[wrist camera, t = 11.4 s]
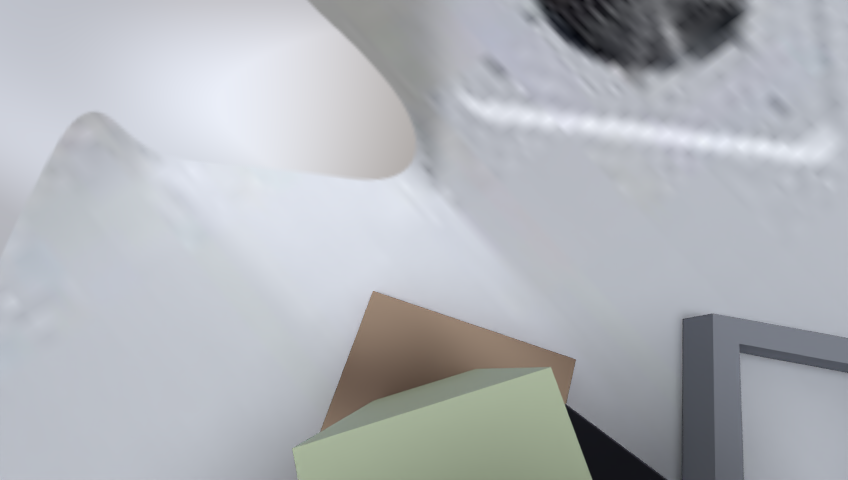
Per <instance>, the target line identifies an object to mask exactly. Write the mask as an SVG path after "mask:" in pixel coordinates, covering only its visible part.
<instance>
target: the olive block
mask: <svg viewBox="0 0 848 480" xmlns="http://www.w3.org/2000/svg"><path fill="white" fill-rule="evenodd" d="M292 450H293V455H294V461H295V466H296V472H297V477H298V480H592V478H591V475H590V472H589V469H588V467H587V464H586V461H585V459H584V456H583V453H582V450H581V448H580V445H579V442H578V440H577V437H576V434H575V431H574V429H573V426H572V423H571V420H570V418H569V415H568V412H567V410H566V407H565V404H564V401H563V399H562V396H561V393H560V391H559V388H558V385H557V382H556V380H555V377H554V374H553V371H552V369H551V367H534V368H490V369H474V370H470V371H467V372H464V373H461V374H458V375H454V376H451V377H448V378H445V379H441V380H438V381H435V382H432V383H429V384H425V385H422V386H419V387H416V388H412V389H409V390H406V391H403V392H400V393H396V394H393V395H390V396H387V397H383V398H380V399H377V400H374V401H372V402H370V403H369V404H367V405H365V406H364V407H362V408H360V409H359V410H357V411H355V412H353V413H352V414H350V415H348V416H347V417H345V418H343V419H342V420H340V421H338V422H336V423H335V424H333V425H331V426H330V427H328V428H326V429H325V430H323V431H321V432H319V433H318V434H316V435H314V436H313V437H311V438H309V439H307V440H306V441H304V442H302V443H301V444H299V445H297V446H296V447H294V448H292Z"/></svg>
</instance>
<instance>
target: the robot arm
mask: <svg viewBox="0 0 848 480" xmlns="http://www.w3.org/2000/svg"><path fill="white" fill-rule="evenodd" d="M564 404H565V403H564ZM565 407H566V410H567V412H568V415H569V418H570V420H571V423H572V426H573V429H574V431H575V434H576V437H577V440H578V442H579V445H580V448H581V450H582V453H583V456H584V459H585V461H586V464H587V467H588V469H589V472H590V475H591V478H592V480H667V479H666V478H664V477H663V476H662V475H660V474H659V473H658V472H656V471H655V470H654V469H652V468H651V467H650V466H648V465H647V464H645V463H644V462H643V461H641V460H640V459H639V458H637V457H636V456H635V455H633V454H632V453H631V452H629V451H628V450H627V449H625V448H624V447H623V446H621V445H620V444H619V443H617V442H616V441H615V440H613V439H612V438H611V437H609V436H608V435H606V434H605V433H604V432H602V431H601V430H600V429H598V428H597V427H596V426H594V425H593V424H592V423H590V422H589V421H588V420H586V419H585V418H584V417H582V416H581V415H580V414H578V413H577V412H576V411H574V410H573V409H572V408H570V407H569V406H567V405H566V404H565Z"/></svg>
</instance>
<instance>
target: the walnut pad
mask: <svg viewBox="0 0 848 480" xmlns="http://www.w3.org/2000/svg"><path fill="white" fill-rule="evenodd" d="M575 361H576V359H573V358H570V357H567V356H564V355H561V354H558V353H555V352H552V351H549V350H546V349H543V348H540V347H537V346H534V345H531V344H528V343H525V342H523V341H520V340H517V339H514V338H511V337H508V336H505V335H502V334H499V333H496V332H493V331H490V330H487V329H484V328H481V327H478V326H475V325H472V324H469V323H466V322H463V321H460V320H457V319H455V318H452V317H449V316H446V315H443V314H440V313H437V312H434V311H431V310H428V309H425V308H422V307H419V306H416V305H413V304H410V303H407V302H404V301H401V300H398V299H395V298H392V297H389V296H386V295H384V294H381V293H378V292H375V291H373V293H372V295H371V298H370V301H369V303H368V306H367V309H366V311H365V314H364V317H363V319H362V322H361V324H360V327H359V330H358V332H357V335H356V338H355V340H354V343H353V346H352V348H351V351H350V354H349V356H348V359H347V362H346V364H345V367H344V370H343V372H342V375H341V378H340V380H339V383H338V386H337V388H336V391H335V394H334V396H333V399H332V402H331V404H330V407H329V410H328V412H327V415H326V418H325V420H324V423H323V426H322V428H321V431H323V430H325V429H326V428H328V427H330V426H331V425H333V424H335V423H336V422H338V421H340V420H342V419H343V418H345V417H347V416H348V415H350V414H352V413H353V412H355V411H357V410H359V409H360V408H362V407H364V406H365V405H367V404H369V403H370V402H372V401H374V400H377V399H380V398H383V397H387V396H390V395H393V394H396V393H400V392H403V391H406V390H409V389H412V388H416V387H419V386H422V385H425V384H429V383H432V382H435V381H438V380H441V379H445V378H448V377H451V376H454V375H458V374H461V373H464V372H467V371H470V370H474V369H490V368H534V367H551V369H552V371H553V374H554V377H555V380H556V382H557V385H558V388H559V391H560V393H561V396H562V399H563V401H564V403H565V404H566V402H567V397H568V393H569V388H570V384H571V379H572V375H573V370H574V366H575ZM321 431H320V432H321Z"/></svg>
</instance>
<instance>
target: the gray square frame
mask: <svg viewBox="0 0 848 480" xmlns="http://www.w3.org/2000/svg"><path fill="white" fill-rule="evenodd" d="M740 353H746V354H751V355H756V356H762V357H767V358H773V359H778V360H783V361H789V362H794V363H799V364H805V365H810V366H816V367H821V368H826V369H832V370H837V371H842V372H848V338H845V337H839V336H834V335H828V334H823V333H817V332H812V331H806V330H801V329H795V328H790V327H784V326H779V325H773V324H767V323H762V322H756V321H751V320H745V319H740V318H734V317H729V316H723V315H718V314H708V315H703V316H697V317H692V318H687V319H683V463H682V480H744V472H743V441H742V411H741V381H740Z"/></svg>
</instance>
